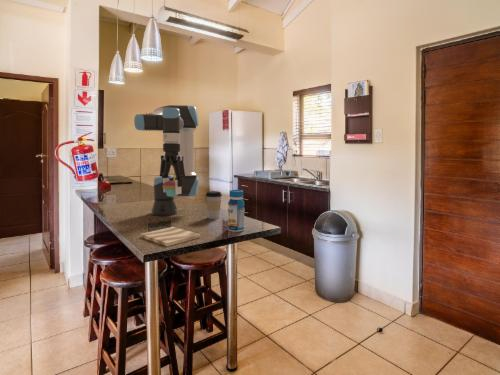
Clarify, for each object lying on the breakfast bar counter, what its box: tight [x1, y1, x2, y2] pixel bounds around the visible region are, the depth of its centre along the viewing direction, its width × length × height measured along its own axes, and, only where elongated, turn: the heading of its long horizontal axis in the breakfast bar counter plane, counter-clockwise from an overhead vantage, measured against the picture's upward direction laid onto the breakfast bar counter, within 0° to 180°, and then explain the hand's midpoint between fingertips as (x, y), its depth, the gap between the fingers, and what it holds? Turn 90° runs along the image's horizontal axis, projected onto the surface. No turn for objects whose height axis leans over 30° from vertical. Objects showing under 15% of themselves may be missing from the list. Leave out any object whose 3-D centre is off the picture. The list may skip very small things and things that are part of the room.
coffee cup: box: [205, 190, 223, 220], centre depth 188 cm, size 9×9×15 cm
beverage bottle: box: [227, 189, 246, 233], centre depth 161 cm, size 8×8×20 cm
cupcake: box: [163, 171, 182, 197], centre depth 148 cm, size 9×8×12 cm
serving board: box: [140, 226, 201, 247], centre depth 148 cm, size 20×18×2 cm
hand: (172, 192), depth 148 cm, fingers closed on cupcake, 8 cm apart
